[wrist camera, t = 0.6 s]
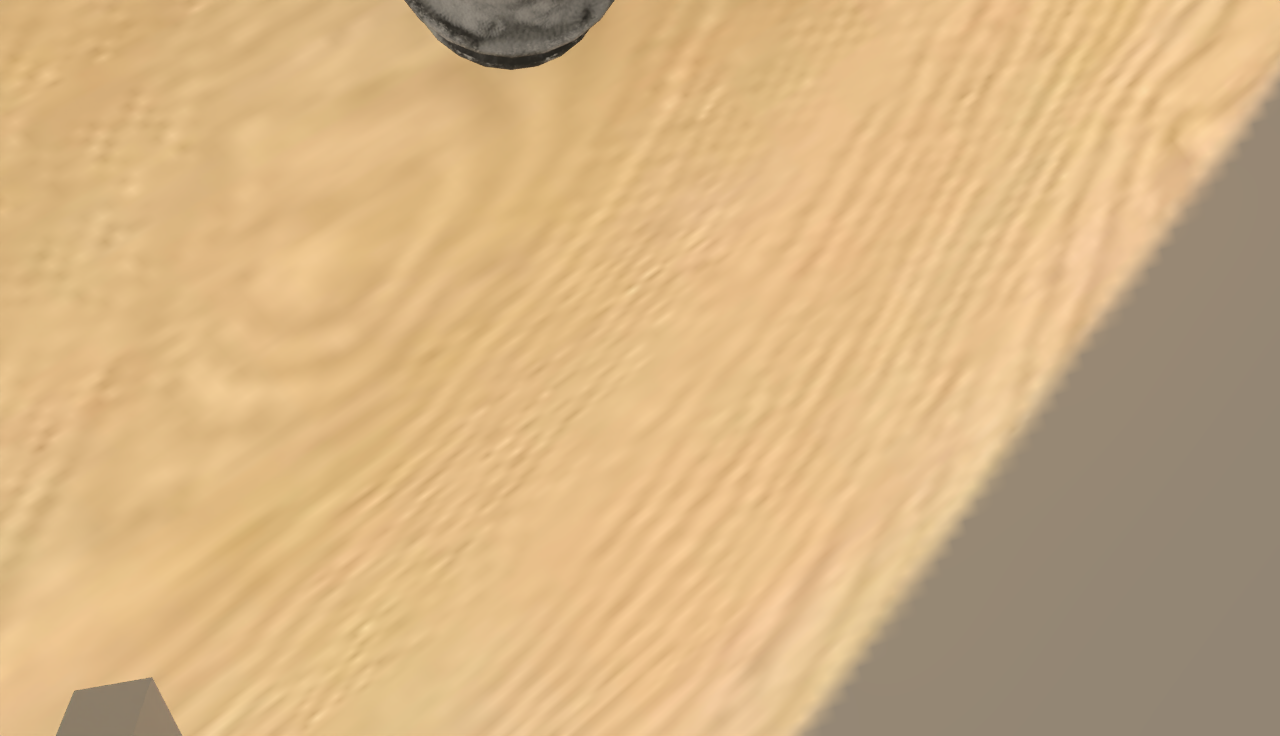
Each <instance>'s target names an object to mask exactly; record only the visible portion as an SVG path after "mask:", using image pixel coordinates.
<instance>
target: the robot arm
mask: <svg viewBox="0 0 1280 736" xmlns="http://www.w3.org/2000/svg"><path fill="white" fill-rule="evenodd" d="M56 736H182V734H181V733H180V731H179V729H178V727H177V725H176V723H175V721H174V719H173V717H172V715H171V713H170V711H169V709H168V707H167V705H166V703H165V701H164V700H163V698H162V696H161V694H160V692H159V690H158V688H157V686H156V684H155V682H154V680H153V678H152V677H151V678H146V679H140V680H134V681H128V682H123V683H117V684H111V685H105V686H100V687H94V688H88V689H82V690H77V691H74V693H73V695H72V698H71V700H70V702H69V705H68V707H67V710H66V712H65V715H64V717H63V720H62V722H61V724H60V727H59V729H58V732H57V734H56Z"/></svg>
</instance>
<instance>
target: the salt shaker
mask: <svg viewBox="0 0 1280 736" xmlns="http://www.w3.org/2000/svg"><path fill="white" fill-rule="evenodd" d="M405 2H406V3H407V4H408V5H409V7H410V8H411V9H412V10H413V12H414V13H415V14H416V15H417V17H418V18H419V19H420V20H421V21H422V22H423V23H425V25H426V26H427V27H428V28H429V30H430V31H431V32H432V33H433V35H434V36H435V37H436V38H437V40H439V41H440V42H441V43H443V44H444V45H445V46H447V47H448V48H449V49H451V50H452V51H453V52H455V53H456V54H457V55H459V56H460V57H463V58H465V59H468V60H470V61H473V62H475V63H478V64H480V65H482V66H485V67H493V68H501V69H509V70H513V69H520V68H528V67H535V66H539V65H541V64H543V63H546V62H548V61H550V60H553V59H555V58H557V57H560V56H562V55H563V54H564V53H565V52H567V51H568V50H569V49H570V48H572V47H573V46H574V45H575V44H577V43H578V42H579V41H580V40H582V38H583V37H584V36H585V34H586V33H587V31H588V30H589V29H590V28H591V27H592V26H593V25H595V24H596V23H597V22H598V21H600V19H601V18H602V17H603V15H604V14H605V13H606V11H607V10H608V8H609V7H610V6H611V4H612V3H613V2H614V0H405Z"/></svg>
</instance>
